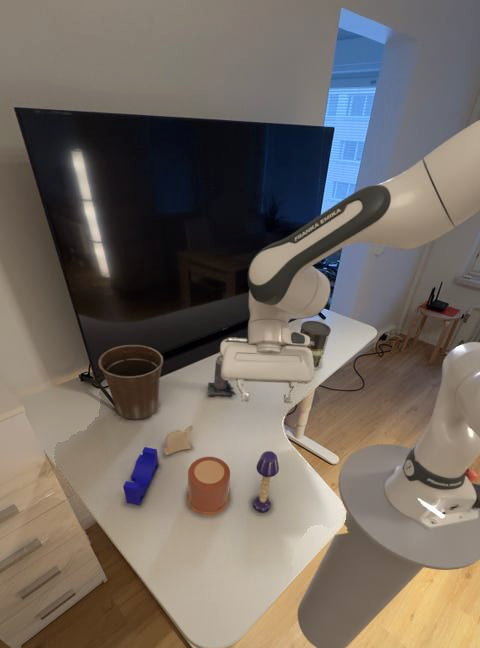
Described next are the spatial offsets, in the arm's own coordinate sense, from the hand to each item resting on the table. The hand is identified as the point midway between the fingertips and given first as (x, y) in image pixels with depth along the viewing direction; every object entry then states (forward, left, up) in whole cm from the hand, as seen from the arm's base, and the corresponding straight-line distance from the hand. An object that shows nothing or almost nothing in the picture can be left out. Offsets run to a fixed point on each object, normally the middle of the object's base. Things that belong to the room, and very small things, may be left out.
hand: (266, 402), depth 74 cm
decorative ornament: (+20, -6, -21) cm, 29 cm away
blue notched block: (+28, +6, -21) cm, 35 cm away
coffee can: (-24, -51, -21) cm, 60 cm away
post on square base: (+9, -31, -21) cm, 38 cm away
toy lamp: (0, +12, -21) cm, 24 cm away
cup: (+12, +10, -21) cm, 26 cm away
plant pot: (+33, -22, -21) cm, 45 cm away
